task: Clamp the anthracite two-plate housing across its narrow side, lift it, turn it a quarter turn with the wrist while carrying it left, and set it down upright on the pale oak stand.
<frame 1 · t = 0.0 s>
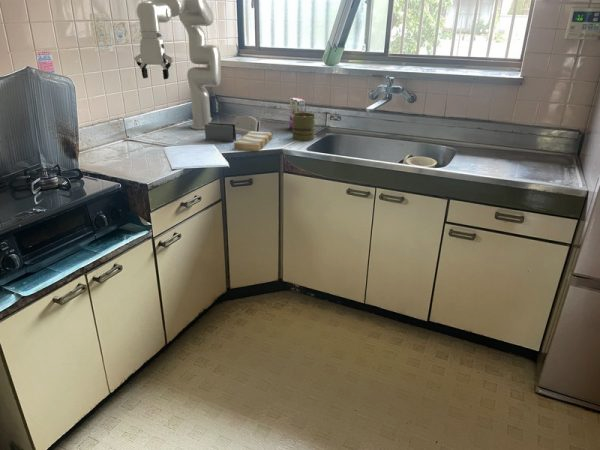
hand: (155, 78, 194), 31 cm above the counter, fingers open, 9 cm apart
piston: (303, 138, 229), on the counter
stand: (254, 143, 217), on the counter
candy bar box: (297, 129, 246), on the counter
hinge: (246, 133, 238), on the counter
housing: (221, 140, 222), on the counter
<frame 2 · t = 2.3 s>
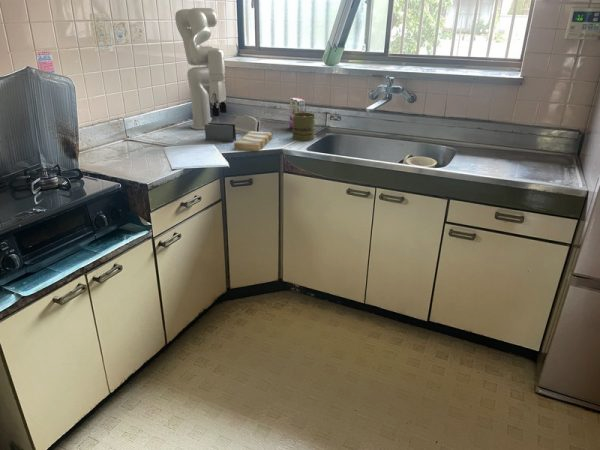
hand: (219, 114, 216), 13 cm above the counter, fingers open, 9 cm apart
nothing on the counter moved.
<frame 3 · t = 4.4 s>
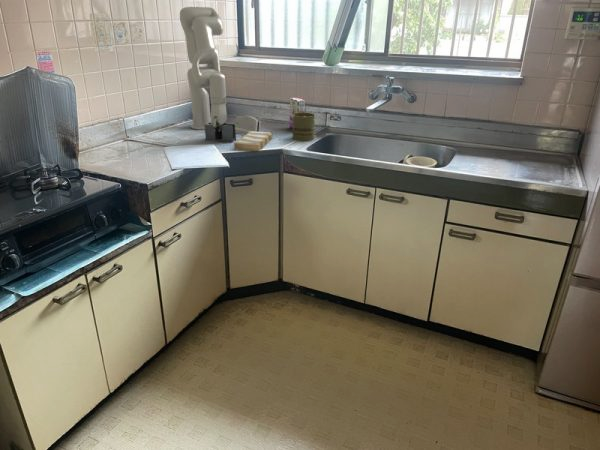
hand: (220, 137, 221), 1 cm above the counter, fingers closed on housing, 5 cm apart
housing: (220, 140, 222), on the counter, touching gripper
everything else where it was.
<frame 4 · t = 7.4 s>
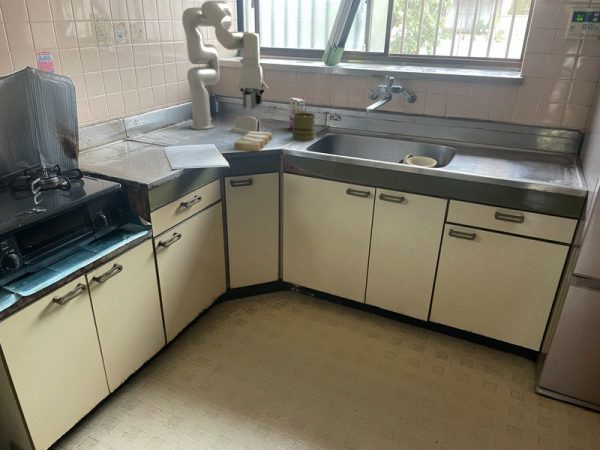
hand: (252, 103, 209), 19 cm above the counter, fingers closed on housing, 5 cm apart
housing: (252, 106, 209), point 18 cm above the counter, touching gripper
everything else where it was.
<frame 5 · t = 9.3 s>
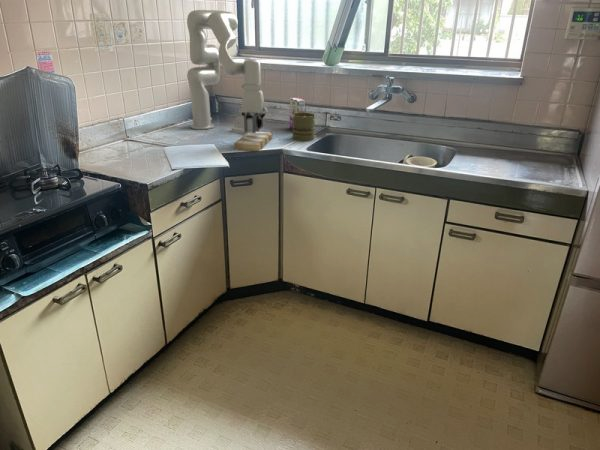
hand: (253, 126, 213), 8 cm above the counter, fingers closed on housing, 5 cm apart
housing: (254, 129, 214), point 7 cm above the counter, touching gripper
everything else where it was.
when the fingers open (6 cm above the counter, at t = 10.6 s): housing drops 1 cm, resting on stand.
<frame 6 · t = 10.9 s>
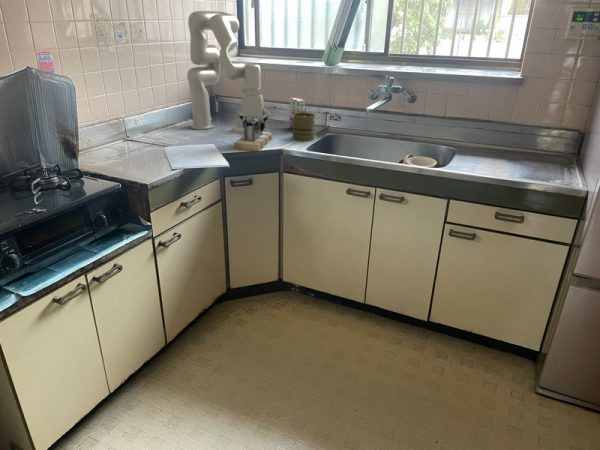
hand: (254, 129, 214), 7 cm above the counter, fingers open, 7 cm apart
housing: (253, 137, 216), point 3 cm above the counter, touching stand
everything else where it was.
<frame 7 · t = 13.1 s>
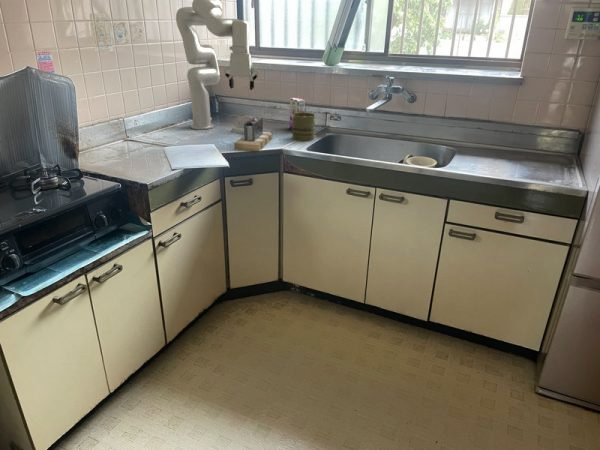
hand: (241, 88, 210), 25 cm above the counter, fingers open, 9 cm apart
nothing on the counter moved.
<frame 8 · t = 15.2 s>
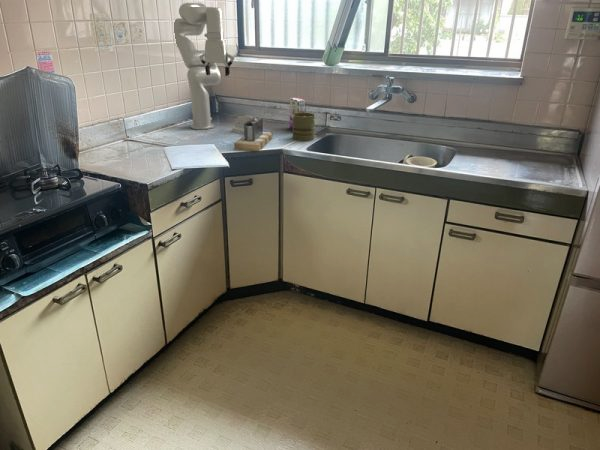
hand: (217, 75, 215), 30 cm above the counter, fingers open, 9 cm apart
nothing on the counter moved.
at the end: housing inside the target area on the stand (0.2 cm from its centre), point 3.3 cm above the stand's base; housing tilted 0°; housing touching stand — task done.
